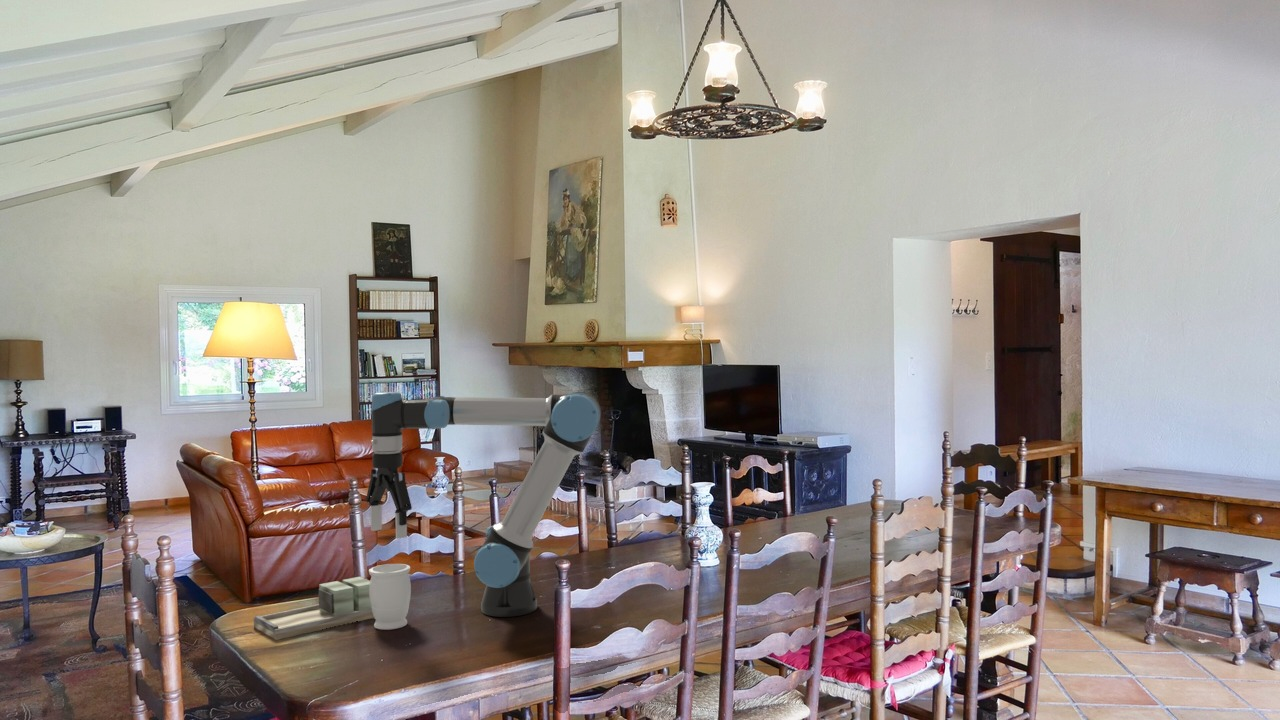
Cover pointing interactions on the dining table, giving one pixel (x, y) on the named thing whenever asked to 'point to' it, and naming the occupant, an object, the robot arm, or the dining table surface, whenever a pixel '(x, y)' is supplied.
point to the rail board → (321, 610)
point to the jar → (390, 595)
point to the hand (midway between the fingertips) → (388, 533)
